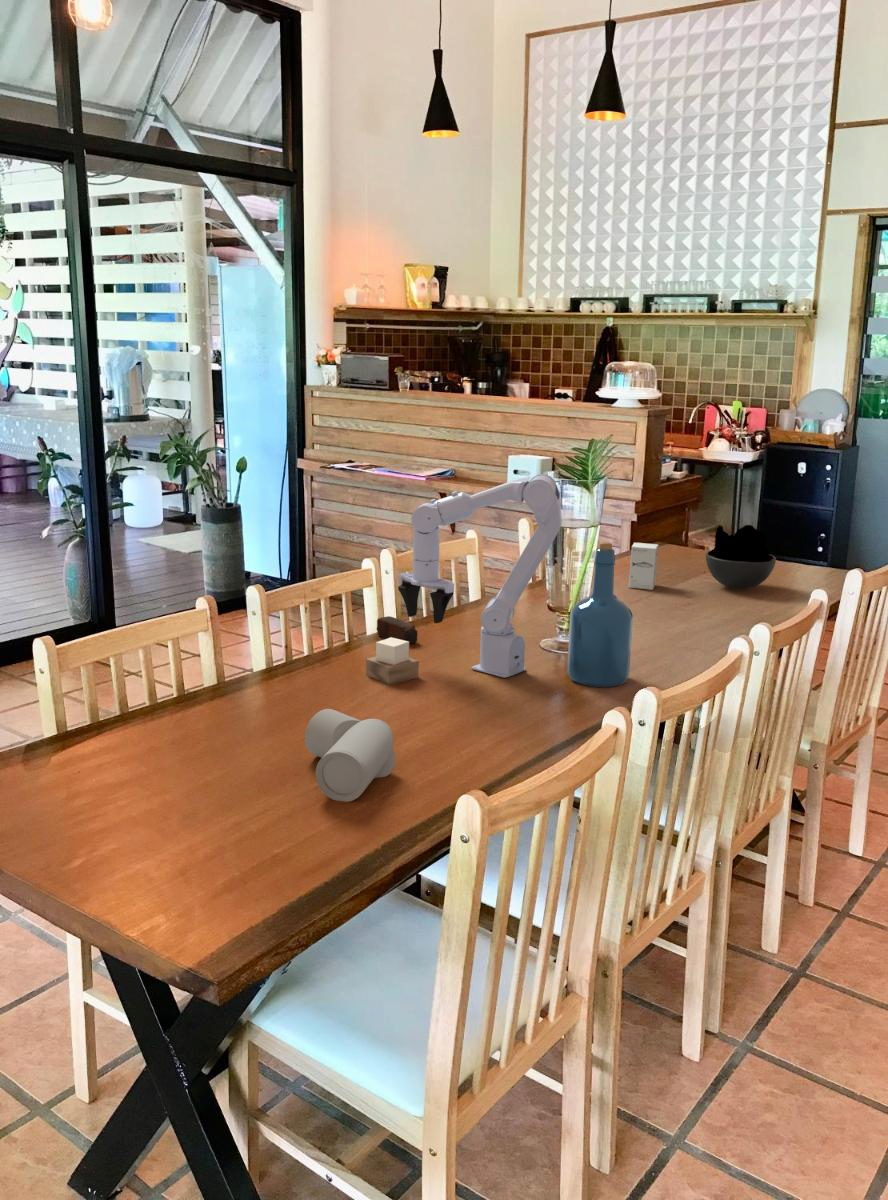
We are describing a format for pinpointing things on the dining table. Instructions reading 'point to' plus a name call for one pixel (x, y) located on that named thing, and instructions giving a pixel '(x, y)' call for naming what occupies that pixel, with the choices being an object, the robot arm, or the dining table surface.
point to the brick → (396, 629)
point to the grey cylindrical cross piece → (349, 752)
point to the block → (392, 651)
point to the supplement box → (643, 566)
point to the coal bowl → (740, 558)
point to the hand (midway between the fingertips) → (425, 619)
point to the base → (392, 670)
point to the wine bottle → (600, 630)
